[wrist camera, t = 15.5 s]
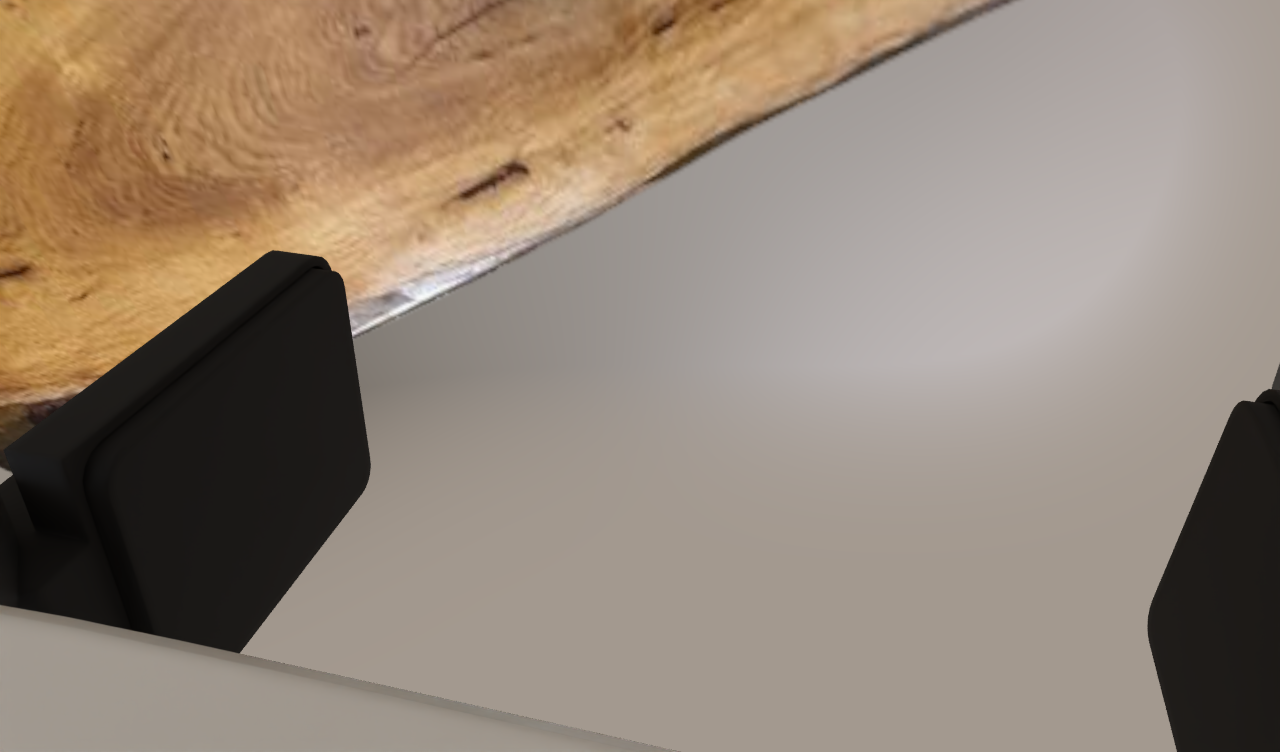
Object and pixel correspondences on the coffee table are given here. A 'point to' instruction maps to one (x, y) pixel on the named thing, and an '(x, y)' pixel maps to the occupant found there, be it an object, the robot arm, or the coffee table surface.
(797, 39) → the coffee table surface
